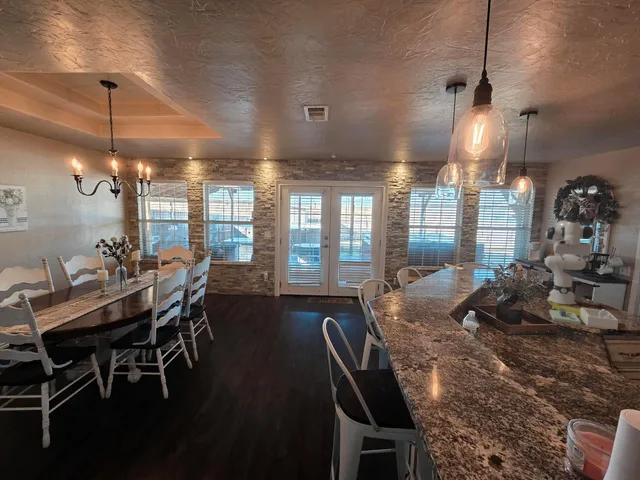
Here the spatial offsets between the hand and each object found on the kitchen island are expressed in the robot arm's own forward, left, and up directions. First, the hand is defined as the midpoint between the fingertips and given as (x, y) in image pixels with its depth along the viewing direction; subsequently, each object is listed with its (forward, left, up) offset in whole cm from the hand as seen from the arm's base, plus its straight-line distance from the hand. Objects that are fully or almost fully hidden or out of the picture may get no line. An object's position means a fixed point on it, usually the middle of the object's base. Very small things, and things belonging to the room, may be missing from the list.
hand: (571, 260), depth 212 cm
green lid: (+20, -5, -39) cm, 44 cm away
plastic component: (+1, -2, -39) cm, 39 cm away
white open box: (+21, +12, -39) cm, 46 cm away
